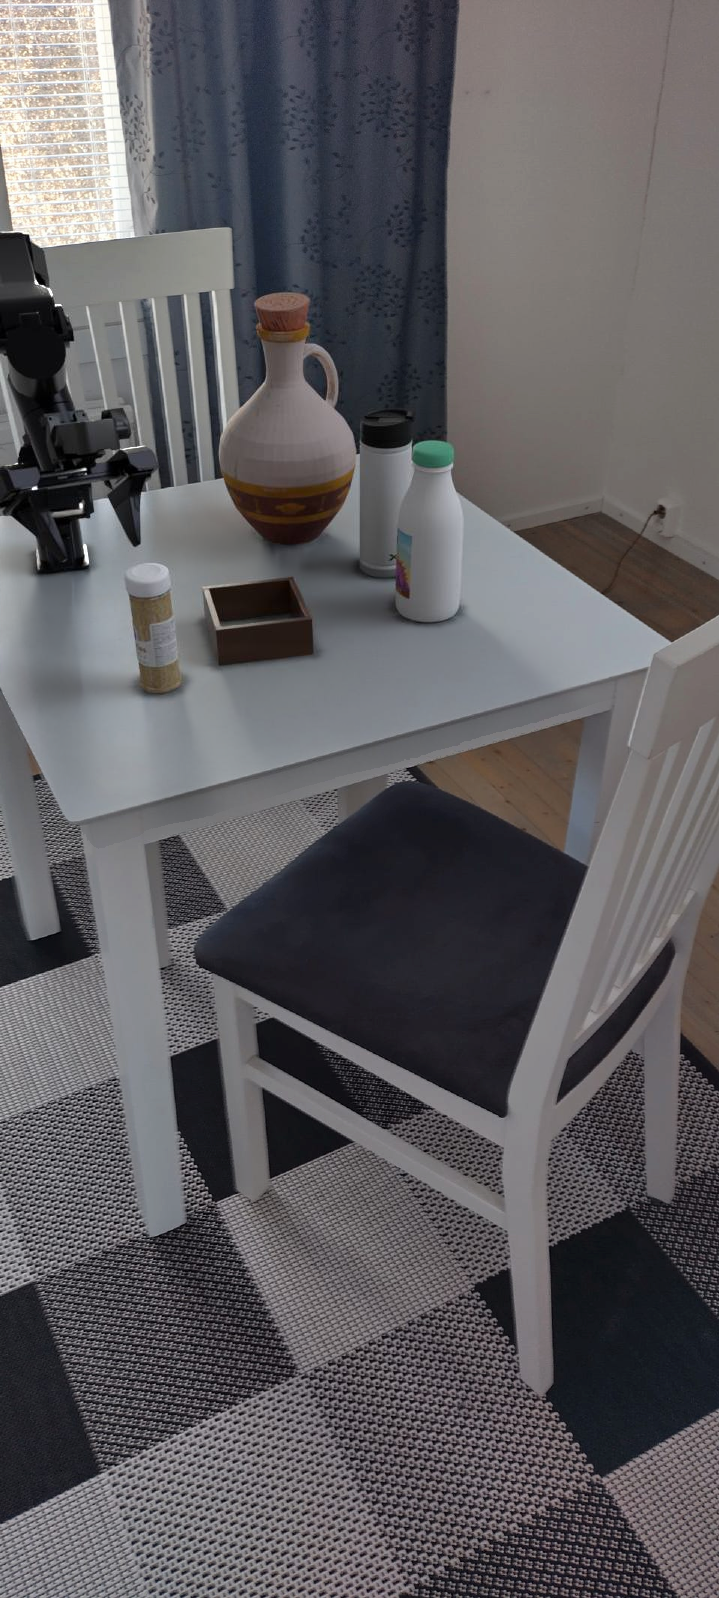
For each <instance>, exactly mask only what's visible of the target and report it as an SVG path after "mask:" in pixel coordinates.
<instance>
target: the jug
mask: <svg viewBox="0 0 719 1598" xmlns="http://www.w3.org/2000/svg"><path fill="white" fill-rule="evenodd" d="M310 303H311V299H310V297H309V296H307V295H306V294H303V293H299V292H291V291H290V292H288V291H287V292H285V291H283V292H275V293H274V292H273V293H269V294H266V295H263V296H260V297H259V298H257V299H256V300H255V301H254V303H253V306H254V309H255V312H256V315H257V318H258V321H259V322H258V323H256V325H255V329H256V333H257V336H258V338H259V339H260V341H261V345H262V350H263V353H264V361H265V370H266V372H265V379H264V382H263V383H262V384H261V386H259V388H258V389H257V390H256V391H255V392H254V394H253V395H252V396H251V397H250V398H249V399H248V400H247V401H246V402H245V403H244V404H243V405H242V406H241V407H239V409H237V411H236V412H235V413H234V414H233V415H232V416H231V418H229V419H228V421H227V423H226V425H225V427H224V429H223V431H222V432H221V435H220V439H219V446H218V460H219V467H220V472H221V476H222V478H223V481H224V484H225V488H226V490H227V492H228V494H229V496H230V499H231V501H232V503H233V505H234V507H235V509H236V510H237V511H238V513H240V515H241V516H242V517H243V518H244V520H245V521H246V522H247V523H248V524H249V525H250V526H251V527H252V528H253V529H254V530H255V531H256V532H257V533H258V534H259V535H260V536H261V537H262V538H263V539H264V540H266V541H267V542H270V543H272V544H276V545H283V546H296V545H303V544H306V543H307V544H308V543H310V542H312V541H315V539H317V538H318V537H320V535H321V534H322V533H323V532H324V531H325V529H326V528H327V527H328V526H329V525H330V524H331V523H332V521H333V520H334V518H335V517H336V516H337V515H338V514H339V512H340V510H341V509H342V508H343V506H344V504H345V502H346V499H347V498H348V494H349V492H350V490H351V487H352V481H353V478H354V474H355V469H356V465H357V464H356V461H357V447H356V442H355V437H354V433H353V431H352V429H351V428H350V426H349V424H348V423H347V421H346V419H345V417H343V416H342V414H340V413H339V412H338V411H337V410H336V409H335V408H336V404H337V402H338V396H339V376H338V371H337V368H336V366H335V365H336V364H335V362H334V360H333V358H332V356H331V355H330V354H329V352H328V351H327V350H326V349H325V348H323V347H322V346H321V345H319V344H316V343H306V339H307V338H308V337H309V334H310V329H311V324H310V322H308V321H307V318H308V312H309V308H310ZM310 356H312V357H315V358H316V359H317V360H318V361H319V362H320V364H321V365H322V367H323V369H324V372H325V375H326V380H327V391H326V398H325V399H324V398H322V396H320V395H319V393H318V392H317V391H316V390H315V389H314V388H313V387H312V386H311V385H310V384H309V383H308V382H307V381H306V379H305V376H304V369H303V368H304V360H305V359H306V358H307V357H310Z"/></svg>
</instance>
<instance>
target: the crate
mask: <svg viewBox="0 0 719 1598" xmlns="http://www.w3.org/2000/svg"><path fill="white" fill-rule="evenodd" d="M201 588H202V599H203V611H204V621H205V625H206V628H207V632H208V634H209V638H210V641H211V645H212V648H213V651H214V654H215V657H216V661H217V665H218V667H220V666H221V667H222V666H229V665H236V664H246V663H253V662H261V661H262V662H263V661H269V660H277V659H278V660H279V659H286V658H293V657H300V656H301V657H302V656H303V657H304V656H309V655H314V627H313V626H314V625H313V624H314V620H313V617H312V615H311V612H310V610H309V608H308V606H307V604H306V601H305V599H304V597H303V594H302V593H301V591H300V589H299V586H298V584H297V581H296V579H295V577H294V576H287V577H280V578H270V579H269V578H267V579H260V580H250V581H243V582H232V583H223V584H215V585H214V584H213V585H206V586H205V585H204V586H202V587H201ZM283 615H290V617H291V618H285V619H277V620H268V621H260V622H251V623H243V624H242V623H241V624H234V625H225V626H222V625H221V623H223V622H231V621H240V620H241V621H242V620H251V619H257V618H266V617H274V616H283Z"/></svg>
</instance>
